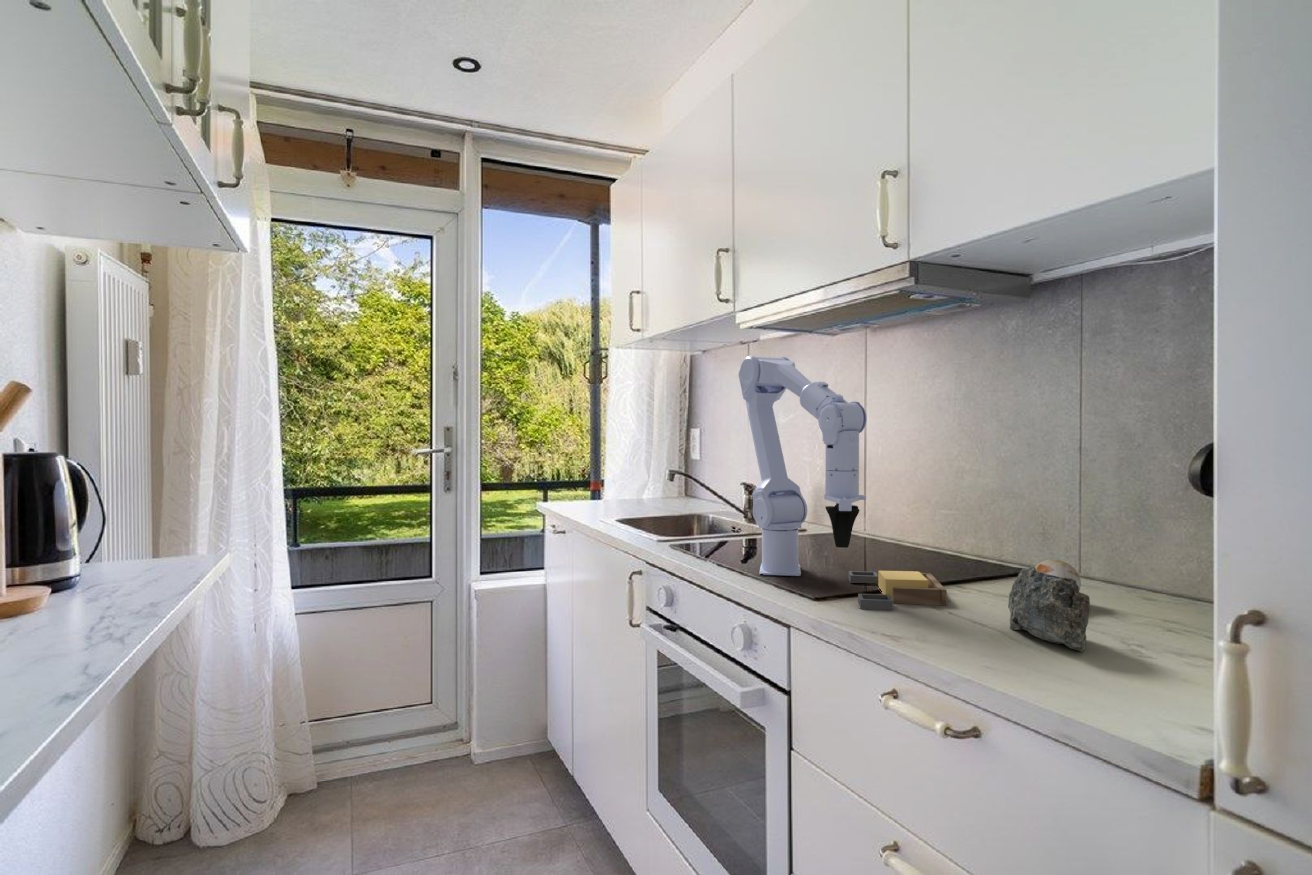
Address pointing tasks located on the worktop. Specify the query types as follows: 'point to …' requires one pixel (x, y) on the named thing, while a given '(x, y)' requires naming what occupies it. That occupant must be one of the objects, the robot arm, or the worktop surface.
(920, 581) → the block
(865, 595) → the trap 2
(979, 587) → the worktop surface
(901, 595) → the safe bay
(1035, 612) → the rock
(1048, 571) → the cream rounded piece
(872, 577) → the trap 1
